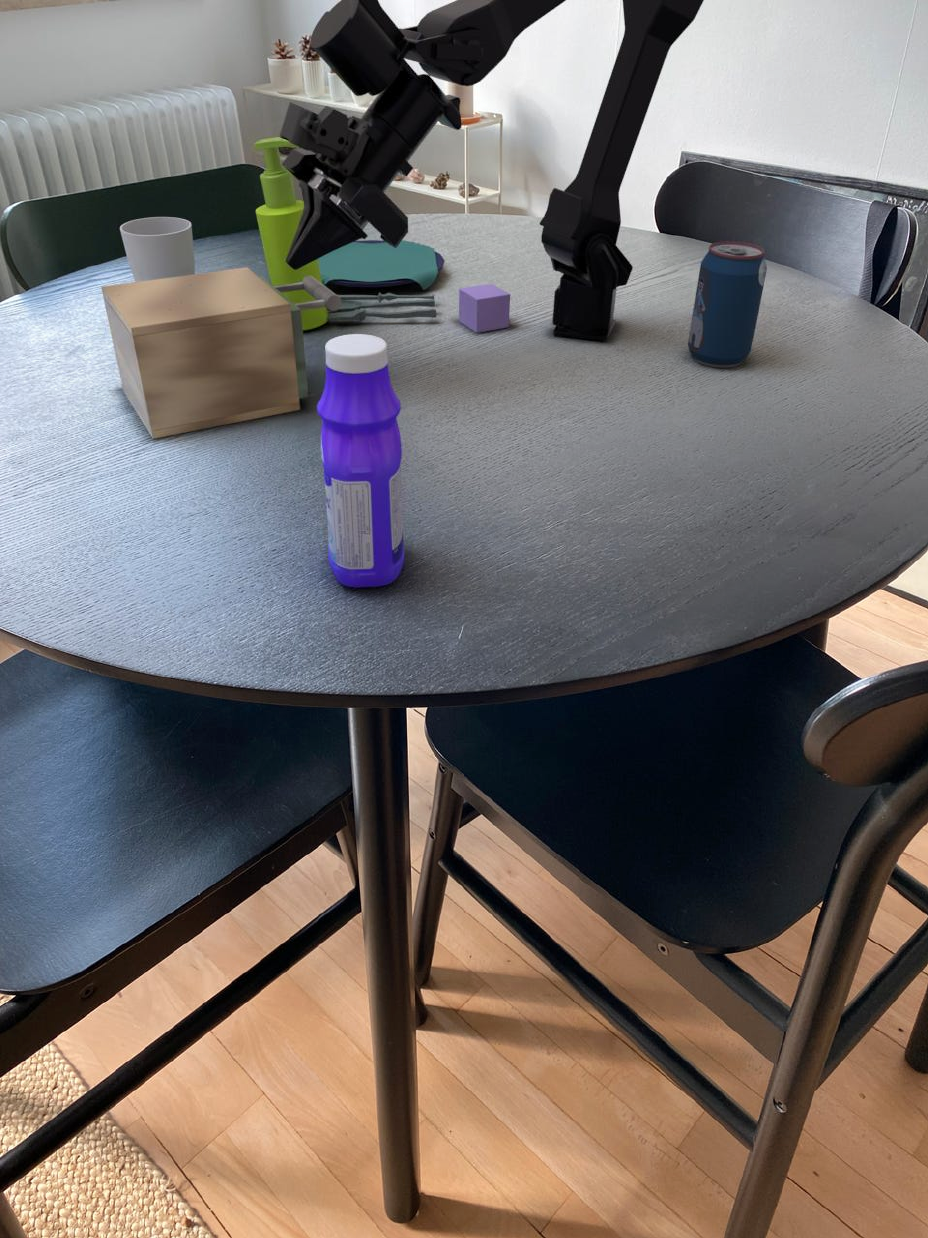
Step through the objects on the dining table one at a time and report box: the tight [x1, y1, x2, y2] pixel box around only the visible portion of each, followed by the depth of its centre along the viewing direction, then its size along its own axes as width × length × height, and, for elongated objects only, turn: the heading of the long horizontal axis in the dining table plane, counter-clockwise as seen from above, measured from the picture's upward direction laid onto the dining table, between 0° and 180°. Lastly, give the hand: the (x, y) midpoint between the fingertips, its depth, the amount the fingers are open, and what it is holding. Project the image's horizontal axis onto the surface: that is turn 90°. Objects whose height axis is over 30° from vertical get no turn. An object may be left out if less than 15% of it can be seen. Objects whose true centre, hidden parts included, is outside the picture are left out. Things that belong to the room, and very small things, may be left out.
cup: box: [119, 216, 196, 282], centre depth 114 cm, size 8×8×10 cm
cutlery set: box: [318, 239, 446, 322], centre depth 125 cm, size 20×30×2 cm, turn 4°
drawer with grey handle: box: [258, 275, 341, 400], centre depth 95 cm, size 18×11×9 cm, turn 118°
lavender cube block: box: [458, 283, 511, 334], centre depth 114 cm, size 4×4×4 cm
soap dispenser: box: [253, 136, 329, 331], centre depth 108 cm, size 6×7×20 cm
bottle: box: [316, 333, 405, 588], centre depth 67 cm, size 7×6×17 cm
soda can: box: [687, 240, 768, 369], centre depth 104 cm, size 7×7×12 cm
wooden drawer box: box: [101, 266, 301, 440], centre depth 93 cm, size 15×13×11 cm
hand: (290, 265), depth 93 cm, fingers closed
